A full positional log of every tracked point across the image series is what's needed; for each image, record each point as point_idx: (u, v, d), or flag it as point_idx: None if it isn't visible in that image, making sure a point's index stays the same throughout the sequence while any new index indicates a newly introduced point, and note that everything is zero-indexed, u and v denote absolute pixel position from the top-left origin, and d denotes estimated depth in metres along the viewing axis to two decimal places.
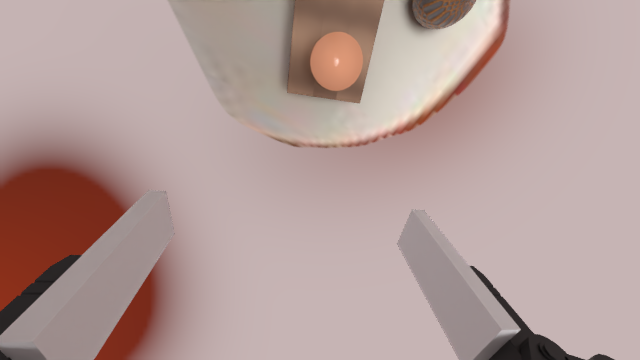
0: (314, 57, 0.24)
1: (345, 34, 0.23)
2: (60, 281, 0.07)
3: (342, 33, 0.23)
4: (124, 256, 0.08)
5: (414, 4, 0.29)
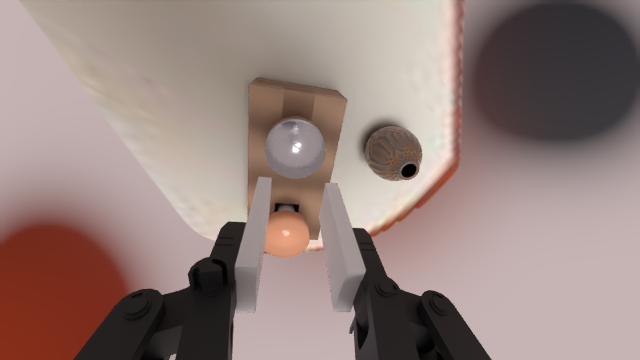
0: None
1: (290, 222, 0.25)
2: (246, 235, 0.09)
3: (287, 222, 0.25)
4: (265, 223, 0.11)
5: None
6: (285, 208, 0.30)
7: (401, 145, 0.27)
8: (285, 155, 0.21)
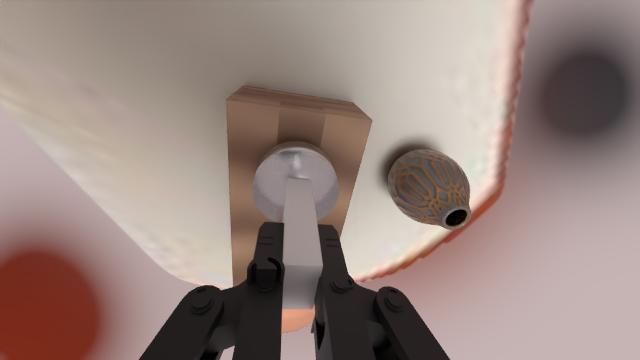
0: None
1: None
2: (287, 234, 0.10)
3: None
4: None
5: (389, 189, 0.24)
6: None
7: (445, 181, 0.19)
8: (282, 196, 0.15)
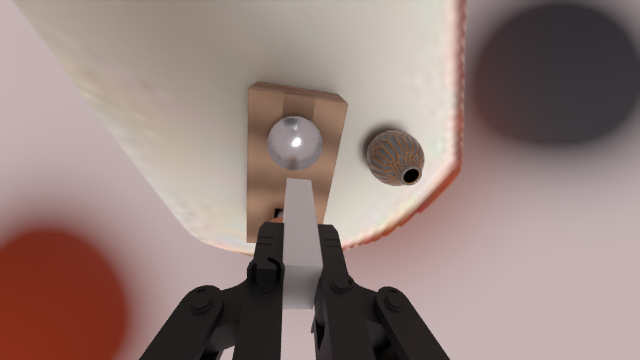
0: None
1: None
2: (287, 234, 0.10)
3: None
4: None
5: (367, 161, 0.31)
6: None
7: (403, 149, 0.26)
8: (286, 148, 0.23)
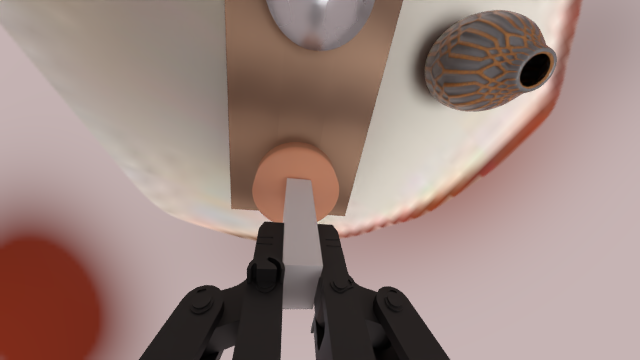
0: (257, 189, 0.14)
1: (307, 157, 0.14)
2: (287, 234, 0.10)
3: (302, 155, 0.14)
4: None
5: (428, 75, 0.19)
6: None
7: (517, 26, 0.14)
8: None
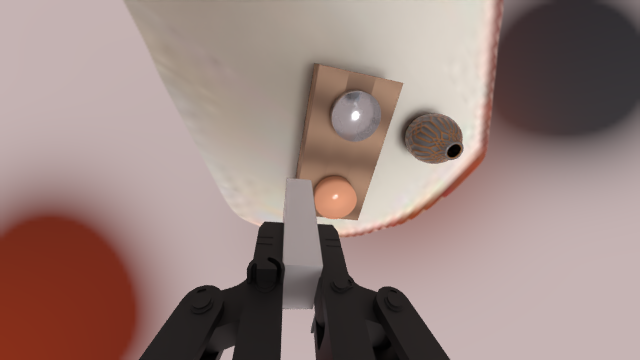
0: (317, 199, 0.30)
1: (343, 184, 0.29)
2: (287, 234, 0.10)
3: (340, 184, 0.29)
4: None
5: (406, 142, 0.34)
6: None
7: (446, 128, 0.29)
8: (348, 119, 0.26)
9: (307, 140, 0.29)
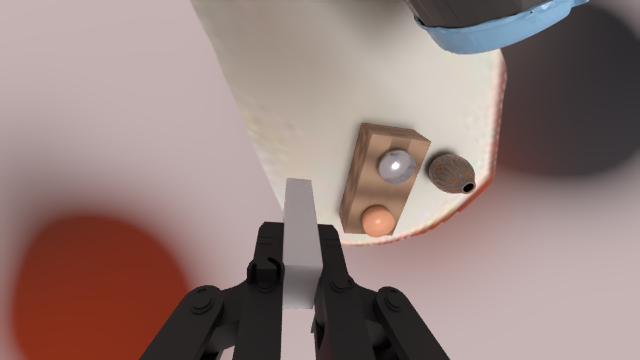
0: (366, 224, 0.40)
1: (385, 213, 0.40)
2: (287, 234, 0.10)
3: (384, 213, 0.39)
4: None
5: (430, 175, 0.44)
6: None
7: (462, 170, 0.39)
8: (392, 170, 0.36)
9: (359, 182, 0.39)
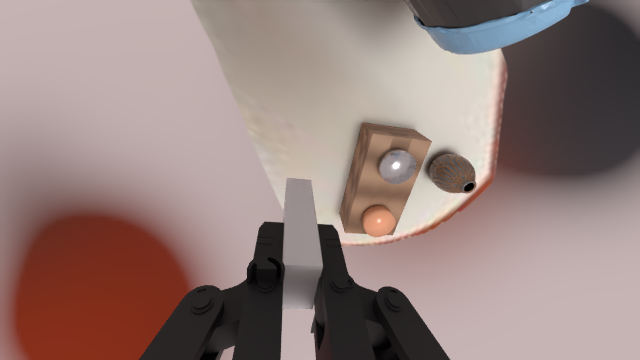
0: (367, 224, 0.40)
1: (386, 213, 0.40)
2: (287, 234, 0.10)
3: (384, 213, 0.39)
4: None
5: (431, 175, 0.44)
6: None
7: (463, 169, 0.39)
8: (392, 170, 0.36)
9: (359, 182, 0.39)
